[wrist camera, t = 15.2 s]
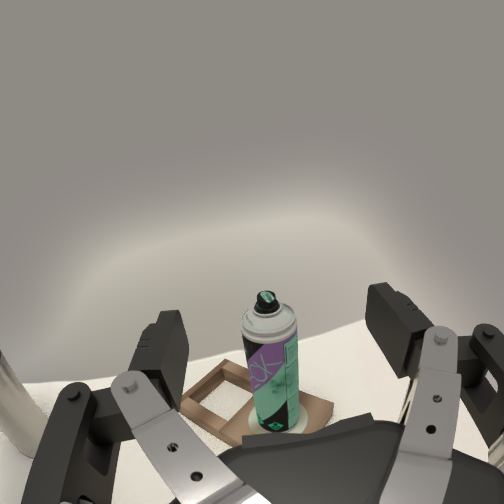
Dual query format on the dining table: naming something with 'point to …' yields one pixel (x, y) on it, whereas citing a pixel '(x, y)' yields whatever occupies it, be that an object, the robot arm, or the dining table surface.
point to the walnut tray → (246, 407)
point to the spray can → (272, 362)
